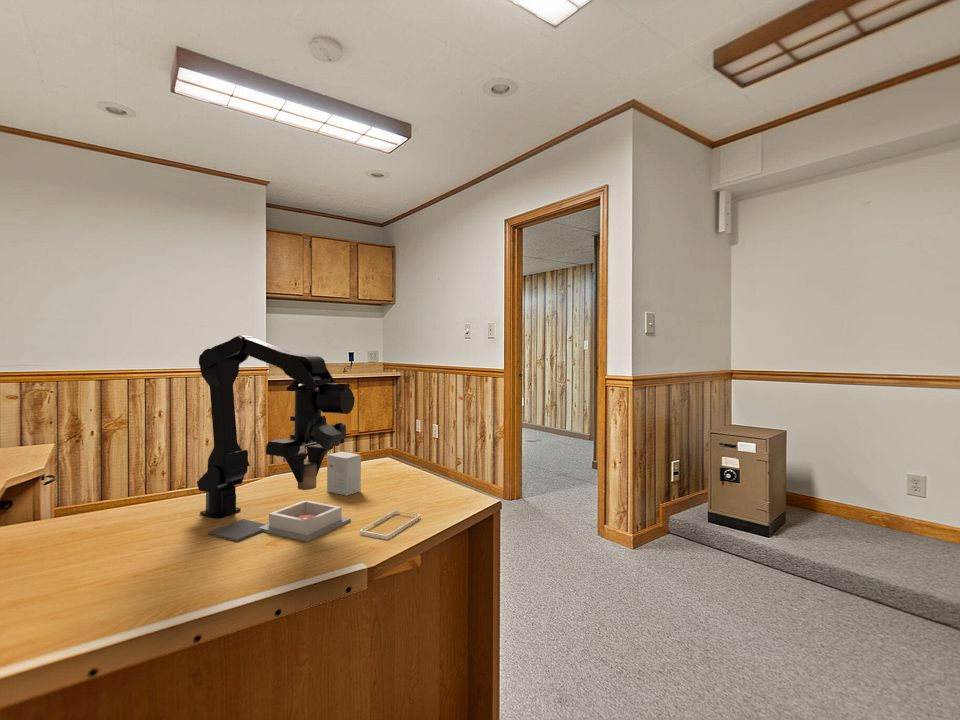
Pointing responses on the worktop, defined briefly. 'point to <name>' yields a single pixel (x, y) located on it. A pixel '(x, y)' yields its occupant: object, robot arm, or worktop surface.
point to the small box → (343, 473)
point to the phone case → (391, 532)
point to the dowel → (309, 476)
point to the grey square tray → (302, 529)
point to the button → (306, 516)
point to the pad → (238, 530)
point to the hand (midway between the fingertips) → (306, 480)
